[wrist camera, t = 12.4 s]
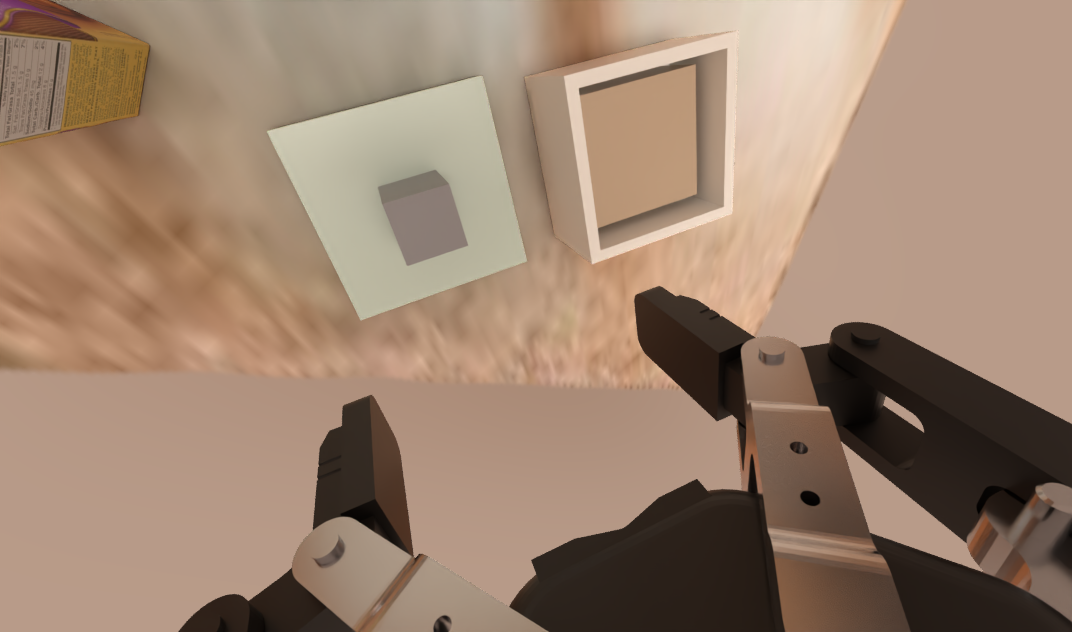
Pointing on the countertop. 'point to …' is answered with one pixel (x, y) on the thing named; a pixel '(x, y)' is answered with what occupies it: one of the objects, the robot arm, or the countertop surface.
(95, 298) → the countertop surface
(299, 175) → the lid
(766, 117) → the countertop surface
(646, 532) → the robot arm
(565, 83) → the storage box
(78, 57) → the candy box
